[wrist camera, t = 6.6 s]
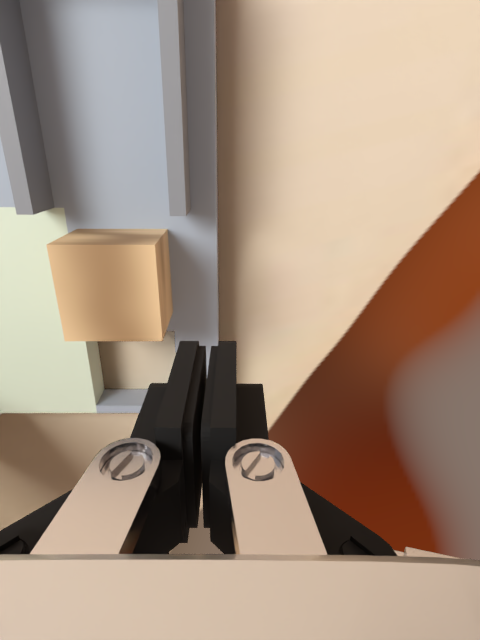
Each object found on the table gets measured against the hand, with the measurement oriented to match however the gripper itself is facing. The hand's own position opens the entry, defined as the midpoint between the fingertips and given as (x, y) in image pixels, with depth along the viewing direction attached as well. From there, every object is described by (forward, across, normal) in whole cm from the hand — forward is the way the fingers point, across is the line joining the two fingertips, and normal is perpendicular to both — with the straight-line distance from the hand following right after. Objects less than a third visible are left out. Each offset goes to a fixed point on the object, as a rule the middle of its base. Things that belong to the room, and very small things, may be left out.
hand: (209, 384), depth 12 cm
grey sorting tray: (+14, +8, -2) cm, 16 cm away
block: (+12, +6, 0) cm, 13 cm away
